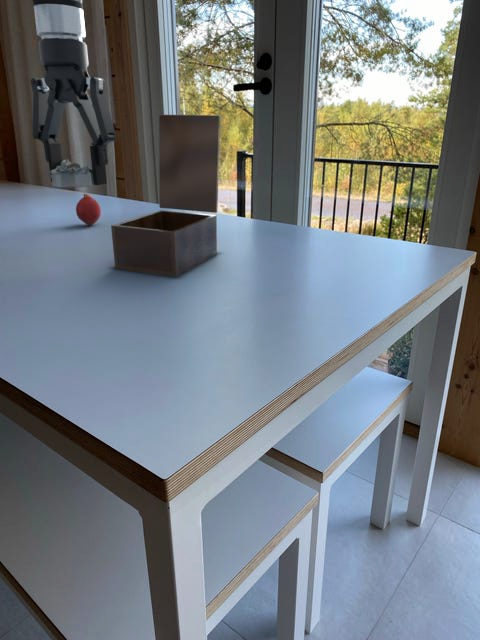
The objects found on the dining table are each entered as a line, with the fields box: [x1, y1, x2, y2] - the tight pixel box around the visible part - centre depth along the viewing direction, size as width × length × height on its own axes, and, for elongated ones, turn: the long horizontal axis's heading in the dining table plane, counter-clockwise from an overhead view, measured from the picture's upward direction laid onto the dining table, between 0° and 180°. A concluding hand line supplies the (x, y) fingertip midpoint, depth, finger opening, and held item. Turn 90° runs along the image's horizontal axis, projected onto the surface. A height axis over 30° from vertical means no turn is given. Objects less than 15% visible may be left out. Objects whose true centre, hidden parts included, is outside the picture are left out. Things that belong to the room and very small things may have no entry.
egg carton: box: [47, 158, 95, 188], centre depth 85 cm, size 11×8×4 cm
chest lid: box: [158, 114, 221, 214], centre depth 92 cm, size 18×13×1 cm
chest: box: [110, 209, 218, 278], centre depth 89 cm, size 17×13×8 cm
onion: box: [75, 192, 102, 227], centre depth 117 cm, size 6×6×8 cm
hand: (78, 182), depth 86 cm, fingers closed on egg carton, 9 cm apart
